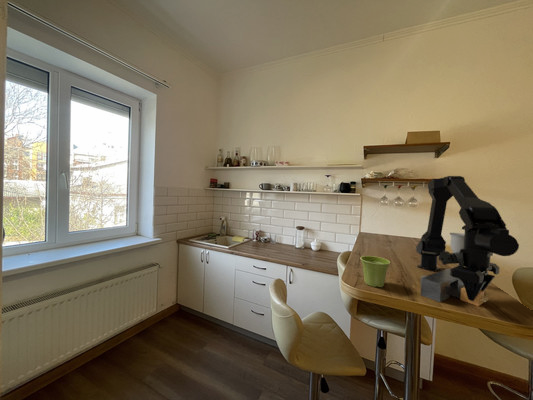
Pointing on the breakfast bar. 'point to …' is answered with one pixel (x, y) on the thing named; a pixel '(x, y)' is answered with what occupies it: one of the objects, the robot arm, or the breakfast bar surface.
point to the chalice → (457, 242)
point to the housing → (439, 285)
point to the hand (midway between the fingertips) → (473, 298)
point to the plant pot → (374, 270)
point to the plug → (463, 295)
